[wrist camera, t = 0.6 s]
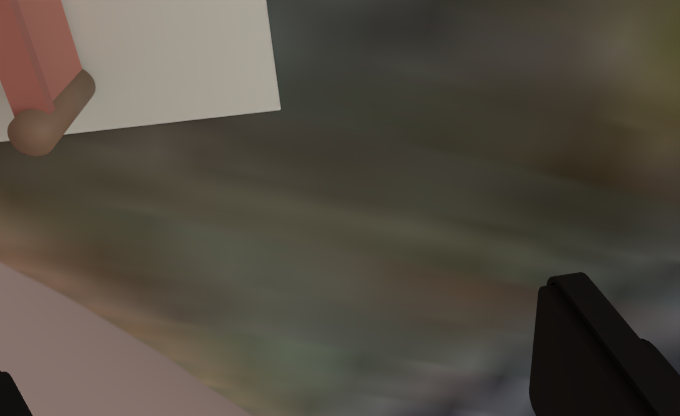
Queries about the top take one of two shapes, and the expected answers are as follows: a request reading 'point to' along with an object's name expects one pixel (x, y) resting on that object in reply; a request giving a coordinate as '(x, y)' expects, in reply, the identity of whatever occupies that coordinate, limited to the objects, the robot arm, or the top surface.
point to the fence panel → (40, 73)
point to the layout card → (168, 61)
